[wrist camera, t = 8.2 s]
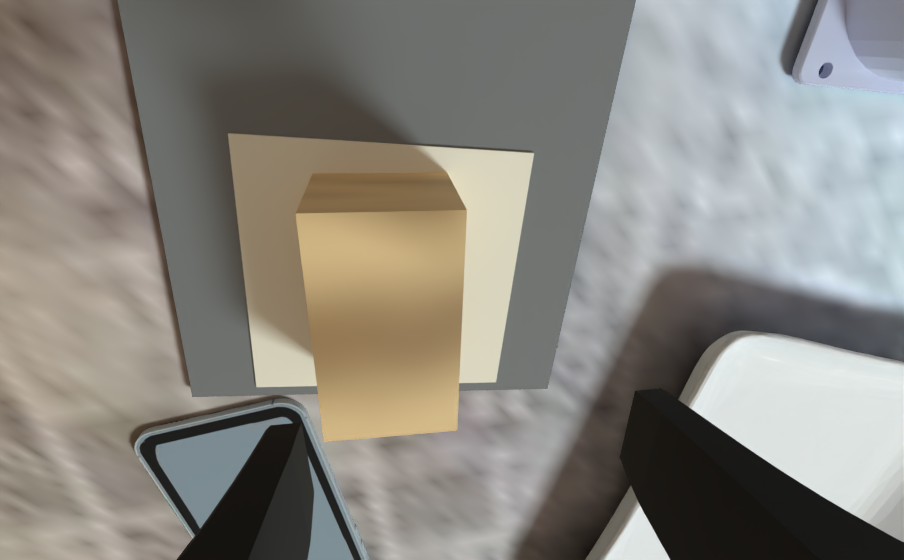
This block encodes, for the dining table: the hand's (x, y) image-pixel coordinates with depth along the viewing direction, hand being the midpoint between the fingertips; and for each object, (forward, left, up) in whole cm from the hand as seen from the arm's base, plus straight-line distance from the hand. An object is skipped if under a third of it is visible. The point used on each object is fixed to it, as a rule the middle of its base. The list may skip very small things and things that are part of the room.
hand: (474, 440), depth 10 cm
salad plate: (-20, +14, -10) cm, 26 cm away
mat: (+2, -4, -9) cm, 10 cm away
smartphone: (+7, +15, -10) cm, 19 cm away
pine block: (+2, +1, -9) cm, 9 cm away
